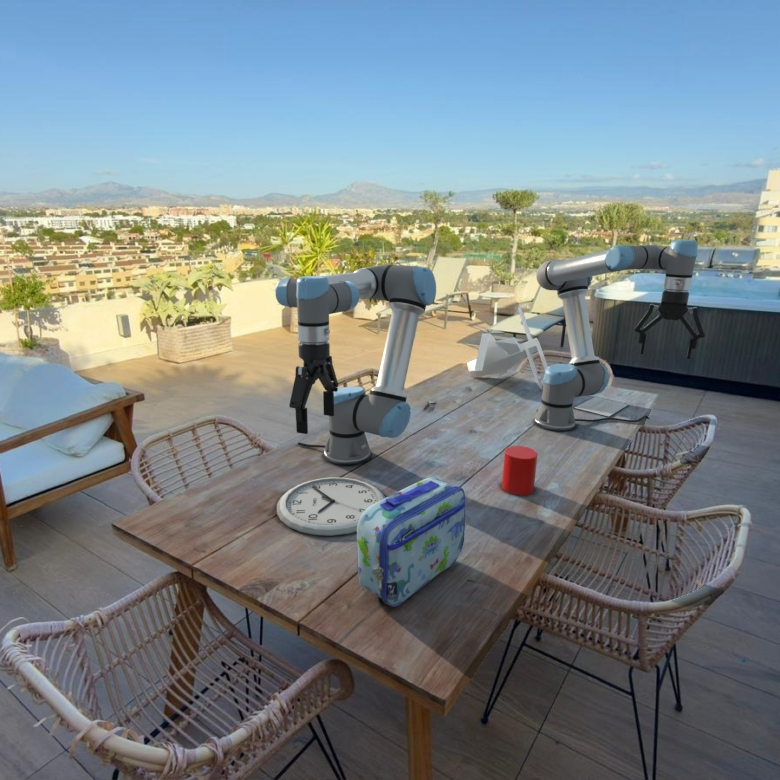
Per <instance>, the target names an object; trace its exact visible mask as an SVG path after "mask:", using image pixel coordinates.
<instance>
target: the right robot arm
mask: <svg viewBox="0 0 780 780" xmlns="http://www.w3.org/2000/svg"><path fill="white" fill-rule="evenodd" d="M698 247H699V243H698V241H696V240H693V239H692V240H691V239H690V240H686V239H673V240H671V243H670V245H658V244H657V245H654V244H644V245H628V244H627V245H626V244H619V245H614V246H612V247H610V248H609V249H605V250H602V251H597V252H593V253H589V254H586V255H581V256H577V257H573V258H569V259H550V260H546V261H545V262H543V263H542V264H540V265H539V267H538V268H537V271H536V275H535V276H536V277H535V278H536V281H537V283H538V285H539V287H541V288H542V289H545V290H546V291H556V293H557V298H558V299H560V300H561V301H562V307H563V313H564V319H565V325H566V333H567V338H568V345H569V350H570V357H571V359H570V361H569V362H568V363H555V364H551V365H549V366H548V367H547V368H546V370H544V375H543V378H542V379H543V381H542V382H543V383H542V394H541V402H540V405H539V407H538V409H536V413H535V416H534V424H535V425H536V426H537V427H539V428H542V429H544V430H549V431H556V432H567V431H572V430H574V429H575V428H576V422H588V423H594V422H601V421H619V422H625V423H639V422H641V421H642V420H644V419H647V420H650V417H649V416H648V415H643V416H641V417H640V418H638V419H624V418H619V417H618V418H617V417H616V418H615V417H603V418H597V419H587V418H586V419H585V418H584V419H583V418H575V417H576V416H575V413H574V407H573V405H574V398H580V397H587V396H594V395H598V394H600V393H602V392H604V391H605V389H606V388H607V386H608V384H609V380H610V379H609V378H610V376H609V371H608V370H607V368H606V367H605V366H604V365H602V364H601V362H600V358H598V357H597V356H596V355H595V351H594V345H593V339H592V331H591V326H590V319H589V311H588V305H587V300H586V299H587V298H586V295H587V293H588V292H589V287H590V286H591V285H592V281H593V278H594V276H595V277H596V276H600V275H606V274H611V273H616V272H622V271H628V270H629V271H630V270H659V271H660V270H661V271H665V277H664V282H663V289H664V290H663V291H662V293H661V299H660V304H659V305H657V304H653V303H650V304H649V307H648V310H647V311H646V312H645V314H644V315H643V317H642V318H641V320H640V321H639V322H638V324H637V325H636V326H635V327H634V332H636V333H638V334H639V338H638V344H641V349H640V355H644V352H645V344H646V338H647V333H646V332H648V331H649V330H650V329H651V328H653V327H654V326H656V324H657V323H659V322H660V321H661V320H662V319H664V320H665V321H666V320H667V321H669V320H670V321H678V320H680V321H681V323H682V324H683V325H684V327H685V328H686V330H687V331H688V333H689V334H690V335H691V337H689V342H688V346H687V352H686V360H690V358H691V353H692V350H695V349H696V348H697V343H698V339H703V338H705V337H706V336H705V332H704V329H703V326H702V324H701V321H700V317H699V315H698V311H699V309H698V307H697V306H693V307H688V302H689V298H690V292H689V291H690V290H691V285H692V280H693V273H694V269H695V265H696V260H697V257H698ZM656 310H658V312H659V314H657V316H656V317H655V318H653V320H651V321H650V322H649V323H648V324H646V325H645V326H644V327H643V325H644V324H645V323H646V321H647V320H648V319H649V318H650V316H651V315H652V313H653V312H656ZM688 312H689V314H690V315H692V318H693V320H694V323H695V326H696V329H697V331H698V333H697V332H696V331H695V330H694V328H693V327H692V326H691V324H690V323H689V322H688V320H687V319H686V317H685V315H686V314H687V313H688Z"/></svg>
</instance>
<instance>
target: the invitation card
mask: <svg viewBox="0 0 780 780" xmlns="http://www.w3.org/2000/svg"><path fill="white" fill-rule="evenodd" d="M628 406H629V404H627V403H623V402H618V401H614V400H609V399H605V398H601V397H596V396H593V397H592V398H590V399H588V400H586V401H584V402H582V403H580V404H578V405H575V406H574V407H573V409H575V410H581V411H584V412H587V413H593V414H596V415H600V416H604V417H607V418H610V417H611V416H613V415H614V414H616V413H617V412H619V411H621V410H623V409H624V408H626V407H628Z"/></svg>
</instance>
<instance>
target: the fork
mask: <svg viewBox="0 0 780 780" xmlns="http://www.w3.org/2000/svg"><path fill="white" fill-rule="evenodd" d="M436 399H437V397H436V396H435V395H430V398H429V400H428V403H427V404H425V406H424V407H423V411H425V410H426V409H427V408H428V407H430V405H431V404H434V403H435V402H436Z"/></svg>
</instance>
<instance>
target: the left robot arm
mask: <svg viewBox="0 0 780 780" xmlns="http://www.w3.org/2000/svg"><path fill="white" fill-rule="evenodd" d="M274 294H275V299H276V301H277V303H278V304H280V305H281V306H283V307H289V308H296V311H297V341H299V342H298V344H297V346H298V348H297V349H298V357H299V359H301V360H302V361H303V364H302V366H299V365H298V366H296V367H295V375H294V376H295V377H294V381H293V386H292V390H291V395H290V401H289V405H288V406H289V408H292V409H294V410H295V425H296V433H297V434H303V435H307V434H309V425H308V421H309V420H308V408H307V407H306V405H307V402H308V400H309V396H310V393H311V390H312V388H313V385H315V383H316V382H317V380H319V382H320V384H321V385H322V387H323V389H324V391H322V396H323V397H322V398H323V402H322V403H323V416H327V417H328V425H329V426H328V428H329V429H328V431H329V432H328V433H329V435H328V437H327V440H326V443H325V445H324V444H307V443H303V442H297V445H299V446H303V447H307V448H321V449H322V448H323V449H324V450H323V451H324V452H323V456H324V459H325V460H326V461H327V462H329V463H331V464H335V465H339V466H351V465H358V464H361V463H364V462H367V461H368V460H369V459H370V457H371V447H370V444H369V441H368V439H367V436H366V433H367V434H372V435H376V436H379V437H381V438H391V439H396V438H398V437H400V436H401V435H402V434H403V433H404V432H405V430H406V429H407V427H408V424H409V422H410V419H411V415H412V411H411V405H410V404H409V403H408V402H407V398H408V397H407V395H406V393H405V391H404V388H405V385H406V379H407V375H408V370H409V365H410V360H411V356H412V351H413V347H414V343H415V342H414V341H415V336H416V331H417V328H418V322H419V318H420V317H421V316H422V315H424V314H425V313H426V309H427V307H428V306H431V305H433V304H434V302H435V300H436V295H437V282H436V277H435V275H434V273H433V271H432V270H431V269H430V268H429V267H427V266H419V265H404V264H379V265H373V266H367V267H361V268H358V269H356V270H355V271H354V272H347V273H337V274H330V275H329V274H328V275H321V276H320V275H306V276H300V277H298V278H293V277H284V278H281V279H280V280H279V281H278V282H277V283H276V285H275V292H274ZM369 299H370V300H377V301H384V302H388V307H389V308H390V309H391V314H390V319H389V324H388V328H387V334H386V337H385V342H384V347H383V352H382V356H381V361H380V365H379V366H380V367H379V371H378V375H377V380H376V385H375V386H373V387H372V388H370V390H369V394H366V392H367V391H366V389H365V388H364V387H362V386H345V387H344V386H343V387H340V388H338V387H339V381H338V378H337V374H336V371H335V367H334V364H333V357H332V355H331V347H330V346H331V345H330V344H331V343H330V342H329V340H330V333H331V329H330V315H332V314H337V313H341V312H342V313H344V312H345V313H346V312H348V311H350V310H353V309H355V308H356V307H357V305H358V304H359V301H360V300H369Z"/></svg>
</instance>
